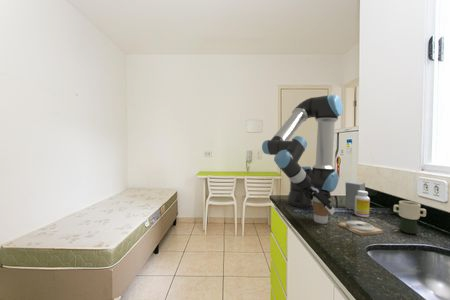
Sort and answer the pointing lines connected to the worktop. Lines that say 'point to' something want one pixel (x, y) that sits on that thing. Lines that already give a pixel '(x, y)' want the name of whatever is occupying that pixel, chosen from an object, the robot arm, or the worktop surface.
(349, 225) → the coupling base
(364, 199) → the supplement bottle
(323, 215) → the coffee cup
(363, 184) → the skincare box
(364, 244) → the worktop surface
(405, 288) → the worktop surface
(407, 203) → the character mug
